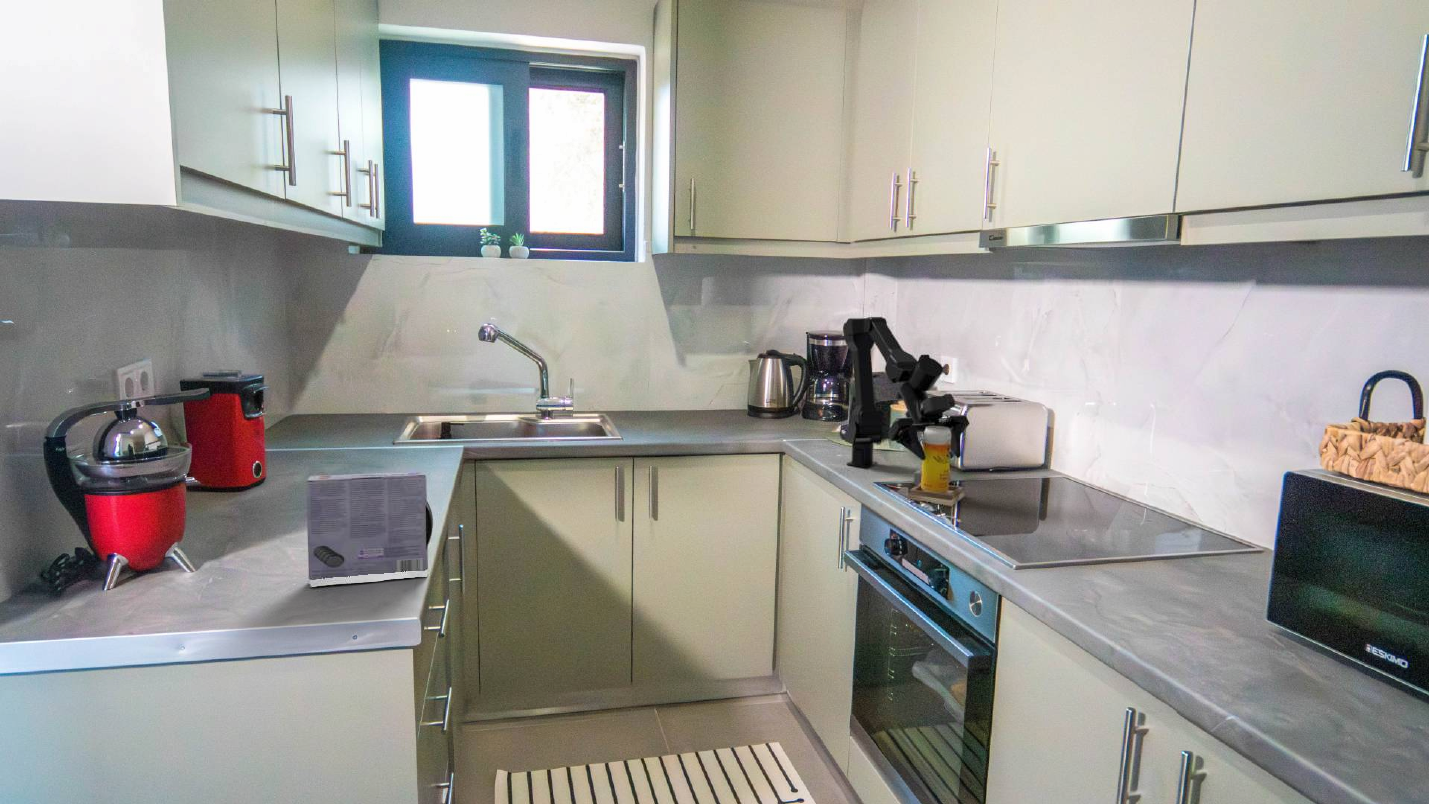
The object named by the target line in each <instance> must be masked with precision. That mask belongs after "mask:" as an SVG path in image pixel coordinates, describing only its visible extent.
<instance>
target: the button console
mask: <svg viewBox="0 0 1429 804" xmlns="http://www.w3.org/2000/svg"><path fill="white" fill-rule="evenodd" d="M913 475H914V477H913V478H914V479H913V485H914V484H915V485H914V486H917V485H919V484H920V483H921V479H922V468H920V469H918V470H916V471H915V472H913ZM951 481H952V471H951V470H949V483H950V482H951ZM951 483H952V482H951ZM951 483H950V484H951Z"/></svg>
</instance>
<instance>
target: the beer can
mask: <svg viewBox="0 0 1429 804" xmlns="http://www.w3.org/2000/svg"><path fill="white" fill-rule="evenodd" d="M922 442H923V443H922V448H923V451H924V454H925V457H926V458H925V460H921V461H922V462H921V469H922V479H921V488H922V490H923V491H926V492H933V493H940V494H945V493H946V492H947V491H948V486H949V485H950V484H949V471H950V467H951V466H950V465H951V464H950V463H951V432H950V428H948V427H943V426H927V427H926V429H925V431H924V432H923V441H922Z"/></svg>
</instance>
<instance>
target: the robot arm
mask: <svg viewBox="0 0 1429 804" xmlns="http://www.w3.org/2000/svg"><path fill="white" fill-rule="evenodd" d="M842 332H843V334H844V340H845V344H846V345H847V347H848V348H849V350H850V351H851V355H852V364H853V379H854V380H853V381H854V394H855V407H854V408H853V411H852V413H851V415H850V424H849V425H848V427H847V429H846V430H845V432H844V433H843V435H844V442H846V443H848V444H851V461H848V462H846V465H847V466H851V467H860V468H867V469H869V468H871V467H875V465H877V464H878V461H874V447H875V445H874V444H877V443H878V444H881V443H882V439H883V435H884V432H885V423H884V412H883V410H882V409H879V408H878V407H877V405H876V403H875V393H874V376H873V361H872V349H873V347H874V345H875V346H876V348H877V349H878V350H879V352H880V354H881V356H882V357H883V359H884V361H885V365H884V366H885V367H884V371H885V373H886V376H887V378H888V380H889V382H890V383H891V384H902V385H901V386H900V387H899V388H898V392H897V394H896V399H897V400H902V401H903V403H904V405H905V409H906V410H907V411H906V413H905V416H906V417H896V419H895V420H894V421H893V422H892V424H891V426H890V427H889V428H888V431H887V434H888V437H889V441H891V442H896V444H900V445H901V446H903V447H904V448H906V449H907V450H908V451H909V452H912V453H913V454H914V455H915V456H916V457H918V459H920V460H921V461H922V460H925V458H926V457H925V454H924V451H923V445H922V443H921V442H920V439H919V437H918V433H919V432H921V433H924V431H925V429H926V427H927V426H943V427H948V428H950V432H951V449H950V451H952V453H953V455H954V456H955V457H956V458H957V459H959V458H961V457H962V451H961V450H962V449H961V448H962V447H961V435H962V434H963V433H964V431H965V430H966V429H967V428H968V427H969V425H970V421H969V419H968V417H967V416H966V415H964V414H957V415H956V414H955V415H949V417H948V418H947V419H946V420H945V421H940V419H942V418H943V417H944V413H945V412H947V411H950V410H951V409H952V408H955V406H956V400H955V398H954V396H953V394H952V393H945V394H944V395H940V396H938V395H936V396H935V395H934V396H930V397H929V395H928V393H927V391H930V390H932V388H933V387H934V386H935V384H936V382H937V381H938V380H939V378H940V377H941V375H942V374H943V372H944V371H943V370H944V369H943V366H942V365H943V364H941V363H939V362H938V361H937V360H936V359H934V358H931V356H930V354H920V356H919V358H918V360H917V358H915V356H913V354H911V353H909V352H907V351H905V350H904V349H903V348H902V346H901V345H900V344H899V342H898V340H897V339H896V337H895V335H894V334H893V332H892V331H891V329H890V327H889V326H888V322H887V319H886V318H885V317H882V316H868V317H865V318H864V317H862V318H861V317H857V318H856V317H854V318H853V317H851V318H848V319H847V320H846V322H844V323H843V326H842Z"/></svg>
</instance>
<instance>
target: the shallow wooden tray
mask: <svg viewBox="0 0 1429 804" xmlns="http://www.w3.org/2000/svg"><path fill="white" fill-rule="evenodd" d="M964 489H965V488H964V486H958V485H950V484H949V486H948V491H947V492H946V493H945V494H940V493H933V492H926V491H923V490H922V488H921V483H920V484H919V485H914V486H913V488H911V489H909V493H908V495H907V497H908V498H907V500H908V499H912V500H911V501H915V500H916V502H921V501H926V502H925V503H928V502H931V503H930V504H936V505H942V504H943V505H942V506H949V507H953V506H954V505H955V504H957V503H958V502H959V501H960V500H962V499H963V498H964V497H965V491H964ZM961 498H962V499H961Z"/></svg>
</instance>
